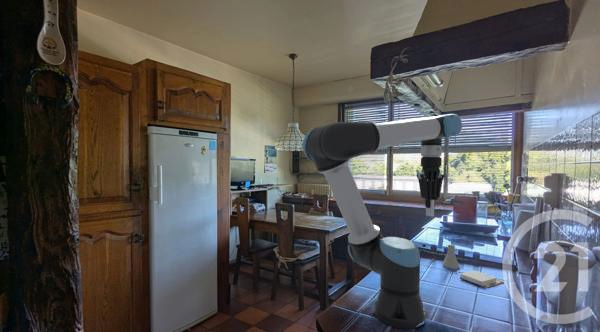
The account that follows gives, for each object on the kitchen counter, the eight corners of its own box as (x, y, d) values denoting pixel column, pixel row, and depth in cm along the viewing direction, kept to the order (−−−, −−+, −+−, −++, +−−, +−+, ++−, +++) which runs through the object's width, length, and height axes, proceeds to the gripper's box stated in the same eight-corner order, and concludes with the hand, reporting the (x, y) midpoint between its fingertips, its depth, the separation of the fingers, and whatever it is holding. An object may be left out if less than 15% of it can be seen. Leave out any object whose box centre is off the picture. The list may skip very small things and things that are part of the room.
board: (486, 287, 111) (486, 286, 111) (459, 277, 121) (459, 276, 121) (503, 283, 116) (503, 281, 116) (476, 273, 126) (476, 272, 126)
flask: (463, 269, 130) (463, 247, 130) (447, 269, 131) (447, 247, 131) (454, 264, 138) (455, 243, 138) (439, 264, 138) (439, 243, 138)
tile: (482, 281, 112) (496, 277, 115) (460, 273, 120) (474, 270, 124) (482, 285, 112) (496, 281, 115) (460, 277, 120) (474, 274, 124)
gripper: (426, 155, 109) (425, 218, 109) (451, 157, 114) (449, 216, 114) (411, 156, 116) (410, 215, 115) (435, 157, 121) (434, 213, 121)
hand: (430, 215), depth 115 cm, fingers closed
